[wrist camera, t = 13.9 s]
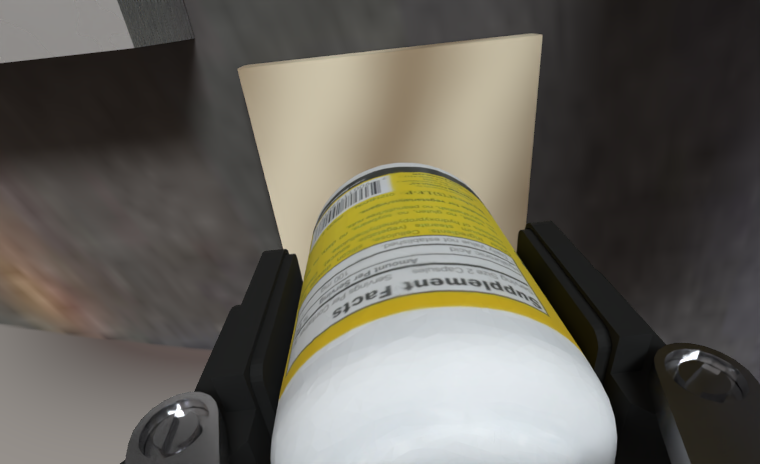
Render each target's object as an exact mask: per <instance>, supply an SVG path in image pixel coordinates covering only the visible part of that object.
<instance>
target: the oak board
mask: <svg viewBox="0 0 760 464" xmlns="http://www.w3.org/2000/svg"><path fill="white" fill-rule="evenodd" d="M542 36H543V35H540V34H533V33H530V34H521V35H512V36H503V37H494V38H485V39H476V40H467V41H458V42H449V43H440V44H431V45H422V46H413V47H404V48H395V49H386V50H377V51H368V52H359V53H350V54H341V55H332V56H323V57H314V58H305V59H297V60H288V61H279V62H270V63H261V64H252V65H245V66H243V67H240V68H238V73H239V77H240V81H241V84H242V88H243V92H244V96H245V100H246V104H247V108H248V112H249V116H250V120H251V124H252V128H253V132H254V136H255V140H256V143H257V147H258V151H259V155H260V159H261V163H262V167H263V171H264V175H265V179H266V183H267V187H268V191H269V195H270V199H271V202H272V206H273V210H274V214H275V218H276V222H277V226H278V230H279V234H280V238H281V242H282V246H283V249H287V250H288V252H289V254H296V256H297V259H298V263H299V267H300V271H301V275H302V280H304V275H305V270H306V266H307V261H308V256H309V251H310V245H311V240H312V236H313V231H314V228H315V225H316V222H317V219H318V216H319V214H320V212H321V211H322V209H323V207H324V205H325V203H326V202H327V201H328V200H329V198H330V197H331V196H332V195H333V194H334V193H335V192H336V190H337V189H338V188H339V187H341V186H342V185H343V184H344V183H346V182H347V181H348V180H350V179H351V178H353V177H354V176H356V175H358V174H360V173H362V172H364V171H366V170H369V169H372V168H374V167H377V166H381V165H386V164H392V163H419V164H425V165H430V166H433V167H436V168H439V169H442V170H444V171H446V172H448V173H450V174H452V175H454V176H456V177H457V178H459V179H460V180H462V181H463V182H464V183H465V184H466V185H468V186H469V187H470V188H471V189H472V190H473V191H474V192H475V194H476V195H477V196H478V197H479V199H480V200H481V201H482V203H483V204H484V205H485V207H486V208H487V209H488V211H489V212H490V214H491V215H492V217H493V218H494V220H495V221H496V223H497V224H498V226H499V228H500V229H501V231H502V232H503V234H504V235H505V237H506V238H507V240H508V241H509V243H510V244H511V246H512V247H513V249H514V250H515V252H517V239H518V232H519V231H520V230H524V229H525V227H526V218H527V206H528V195H529V184H530V172H531V161H532V150H533V138H534V127H535V116H536V104H537V93H538V82H539V70H540V59H541V48H542Z"/></svg>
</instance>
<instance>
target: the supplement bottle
mask: <svg viewBox="0 0 760 464" xmlns="http://www.w3.org/2000/svg"><path fill="white" fill-rule="evenodd" d="M616 451H617V431H616V423H615V417H614V413H613V410H612V407H611V404H610V401H609V398H608V396H607V394H606V392H605V390H604V388H603V386H602V384H601V382H600V380H599V379H598V377H597V375H596V374H595V372H594V370H593V369H592V367H591V365H590V364H589V362H588V360H587V359H586V357H585V356H584V354H583V353H582V351H581V349H580V348H579V346H578V345H577V343H576V342H575V340H574V339H573V337H572V336H571V334H570V333H569V331H568V330H567V328H566V327H565V325H564V324H563V322H562V321H561V319H560V318H559V316H558V315H557V313H556V312H555V310H554V309H553V307H552V306H551V304H550V303H549V301H548V300H547V298H546V297H545V295H544V294H543V292H542V291H541V289H540V288H539V286H538V285H537V283H536V282H535V280H534V279H533V277H532V276H531V274H530V273H529V271H528V269H527V268H526V266H525V265H524V263H523V262H522V260H521V259H520V257H519V256H518V254H517V253H516V252H515V250H514V249H513V247H512V246H511V244H510V243H509V241H508V240H507V238H506V237H505V235H504V234H503V232H502V231H501V229H500V228H499V226H498V224H497V223H496V221H495V220H494V218H493V217H492V215H491V214H490V212H489V211H488V209H487V208H486V207H485V205H484V204H483V203H482V201H481V200H480V199H479V197H478V196H477V195H476V194H475V192H474V191H473V190H472V189H471V188H470V187H469V186H468V185H466V184H465V183H464V182H463V181H462V180H460V179H459V178H457V177H456V176H454V175H452V174H450V173H448V172H446V171H444V170H442V169H439V168H436V167H433V166H430V165H425V164H419V163H392V164H386V165H381V166H377V167H374V168H372V169H369V170H366V171H364V172H362V173H360V174H358V175H356V176H354V177H353V178H351V179H350V180H348V181H347V182H346V183H344V184H343V185H342V186H341V187H339V188H338V189H337V190H336V192H335V193H334V194H333V195H332V196H331V197H330V198H329V200H328V201H327V202H326V203H325V205H324V207H323V209H322V211H321V212H320V214H319V216H318V219H317V222H316V225H315V228H314V231H313V236H312V240H311V245H310V251H309V256H308V261H307V266H306V270H305V275H304V280H303V285H302V290H301V295H300V299H299V304H298V310H297V315H296V320H295V325H294V331H293V335H292V340H291V345H290V350H289V354H288V359H287V363H286V368H285V372H284V377H283V381H282V386H281V390H280V395H279V401H278V406H277V412H276V417H275V423H274V428H273V434H272V441H271V457H270V460H271V464H615V458H616Z"/></svg>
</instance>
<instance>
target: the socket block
mask: <svg viewBox="0 0 760 464" xmlns="http://www.w3.org/2000/svg"><path fill="white" fill-rule="evenodd" d="M188 39H194V36H193V32H192V29H191V25H190V22H189V19H188V15H187V12H186V8H185V5H184V2H183V0H0V63H6V62H15V61H24V60H33V59H42V58H51V57H59V56H68V55H77V54H86V53H95V52H104V51H112V50H121V49H130V48H138V47H144V46H150V45H156V44H163V43H169V42H175V41H182V40H188Z"/></svg>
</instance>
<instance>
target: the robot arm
mask: <svg viewBox="0 0 760 464" xmlns="http://www.w3.org/2000/svg"><path fill="white" fill-rule="evenodd" d="M516 253H517V254H518V256H519V257H520V259H521V260H522V262H523V263H524V265H525V266H526V268H527V269H528V271H529V273H530V274H531V276H532V277H533V279H534V280H535V282H536V283H537V285H538V286H539V288H540V289H541V291H542V292H543V294H544V295H545V297H546V298H547V300H548V301H549V303H550V304H551V306H552V307H553V309H554V310H555V312H556V313H557V315H558V316H559V318H560V319H561V321H562V322H563V324H564V325H565V327H566V328H567V330H568V331H569V333H570V334H571V336H572V337H573V339H574V340H575V342H576V343H577V345H578V346H579V348H580V349H581V351H582V353H583V354H584V356H585V357H586V359H587V360H588V362H589V364H590V365H591V367H592V369H593V370H594V372H595V374H596V375H597V377H598V379H599V380H600V382H601V384H602V386H603V388H604V390H605V392H606V394H607V396H608V398H609V401H610V404H611V407H612V410H613V413H614V417H615V423H616V431H617V451H616V458H615V464H760V384H759V383H758V381H757V380H756V379H755V378H754V376H753V375H752V374H751V373H750V372H749V370H747V369H746V368H745V367H744V366H742V365H741V364H740V363H738V362H737V361H736V360H734V359H732V358H730V357H729V356H727V355H725V354H723V353H721V352H719V351H716V350H713V349H711V348H708V347H705V346H701V345H696V344H691V343H674V344H669V345H666V344H665V343H664V342H663V341H662V340H661V339H660V338H659V336H658V335H657V334H656V333H655V332H654V331H653V330H652V329H651V328H650V327H649V325H648V324H647V323H646V322H645V321H644V320H643V319H642V318H641V317H640V316H639V315H638V313H637V312H636V311H635V310H634V309H633V308H632V307H631V306H630V305H629V304H628V302H627V301H626V300H625V299H624V298H623V297H622V296H621V295H620V294H619V293H618V291H617V290H616V289H615V288H614V287H613V286H612V285H611V284H610V283H609V282H608V280H607V279H606V278H605V277H604V276H603V275H602V274H601V273H600V272H599V271H597V270H596V269H595V268H594V267H593V266H592V265H591V264H590V263H589V262H588V261H587V259H586V258H585V257H584V256H583V255H582V254H581V253H580V252H579V251H578V249H577V248H576V247H575V246H574V245H573V244H572V243H571V242H570V241H569V239H568V238H567V237H566V236H565V235H564V234H563V233H562V232H561V231H560V230H559V228H558V227H557V226H556V225H555V224H554V223H553V222H552V221H546V222H537V223H528V224H527V225H526V227H525V229H524V230H520V231H519V232H518V239H517V252H516ZM302 285H303V280H302V275H301V271H300V267H299V263H298V259H297V256H296V254H289V252H288V250H287V249H280V250H271V251H264V252H263V253H262V256H261V258H260V261H259V263H258V265H257V268H256V270H255V273H254V275H253V278H252V280H251V282H250V285H249V287H248V290H247V292H246V294H245V297H244V299H243V302H242V304H241V305H235V306H234V307H232V309H231V310H230V312H229V314H228V317H227V319H226V321H225V323H224V326H223V328H222V330H221V332H220V335H219V337H218V339H217V341H216V344H215V346H214V348H213V350H212V353H211V355H210V357H209V359H208V362H207V364H206V366H205V369H204V371H203V373H202V375H201V378H200V380H199V382H198V384H197V387H196V389H195V391H194V392H187V393H182V394H178V395H176V396H173V397H171V398H169V399H167V400H164V401H163V402H161V403H160V404H159V405H157V406H156V407H154V408H153V409H152V410H150V411H149V412H148V413H147V414H146V415H145V416H144V417H143V418H142V419H141V420H140V422H139V423H138V425H137V426H136V428H135V429H134V430H133V433H132V435H131V438H130V441H129V443H128V449H127V454H126V459H125V460H124V461H123V462H122V463H120V464H271V460H270V457H271V441H272V434H273V428H274V423H275V417H276V412H277V406H278V401H279V395H280V390H281V386H282V381H283V377H284V372H285V368H286V363H287V359H288V354H289V350H290V345H291V340H292V335H293V331H294V325H295V320H296V315H297V310H298V304H299V299H300V295H301V290H302Z"/></svg>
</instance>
